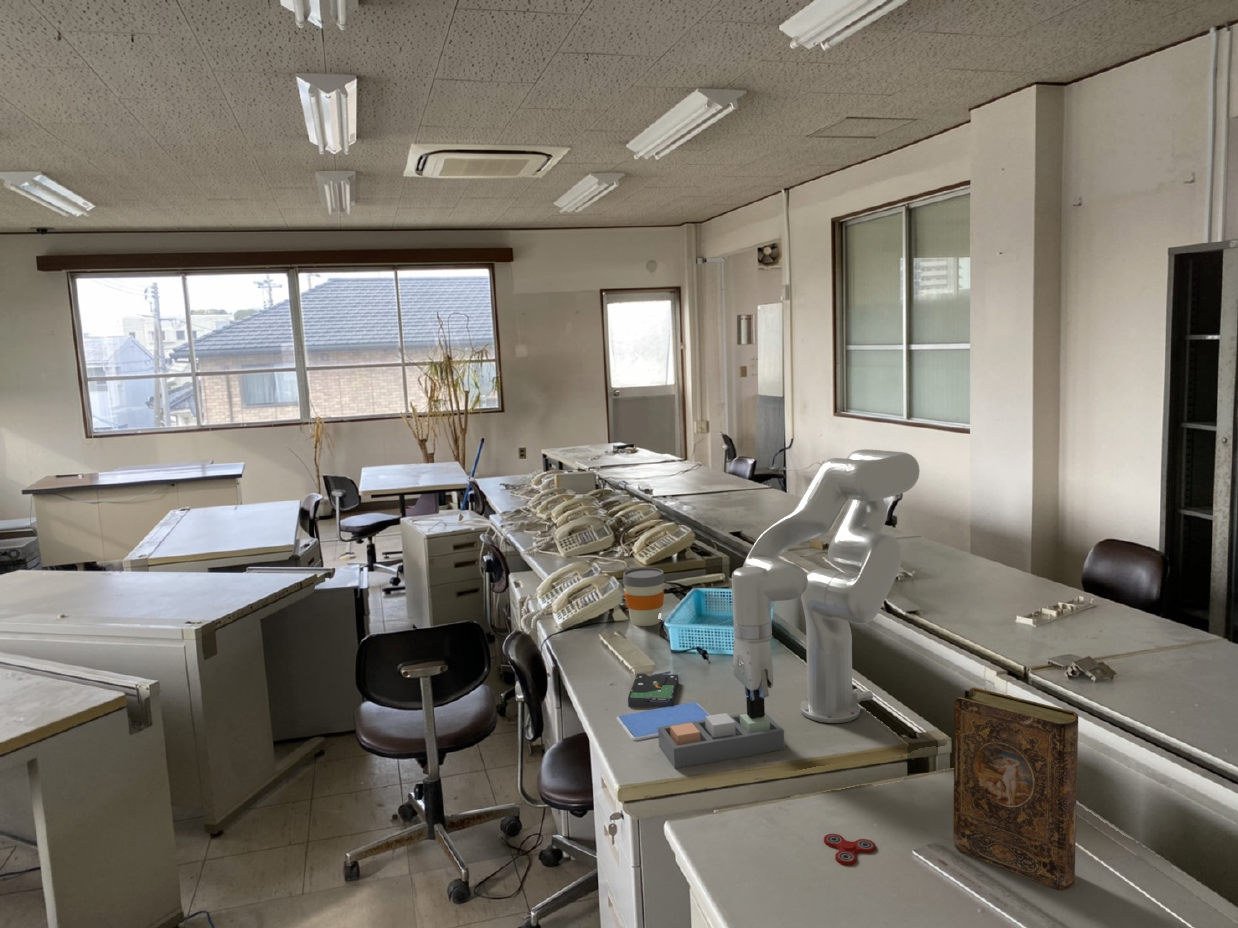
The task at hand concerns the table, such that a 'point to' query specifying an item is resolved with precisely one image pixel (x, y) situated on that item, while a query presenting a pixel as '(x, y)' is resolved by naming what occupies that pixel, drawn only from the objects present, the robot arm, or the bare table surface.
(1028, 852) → the book
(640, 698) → the disk drive
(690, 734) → the terracotta key
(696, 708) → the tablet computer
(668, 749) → the grey compartment tray
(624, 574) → the reusable coffee cup
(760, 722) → the sage key
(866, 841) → the fidget spinner
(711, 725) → the grey key
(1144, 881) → the table surface
